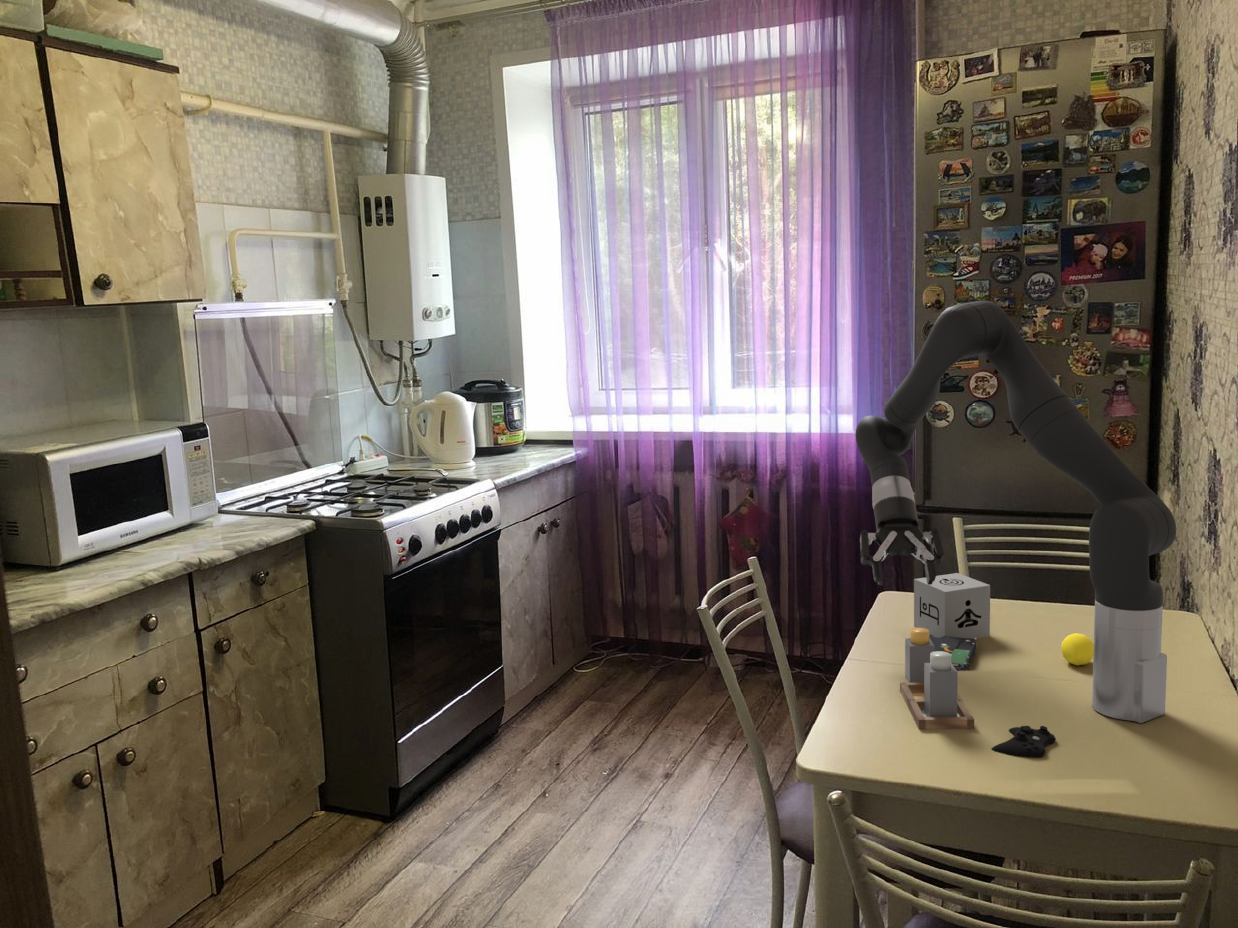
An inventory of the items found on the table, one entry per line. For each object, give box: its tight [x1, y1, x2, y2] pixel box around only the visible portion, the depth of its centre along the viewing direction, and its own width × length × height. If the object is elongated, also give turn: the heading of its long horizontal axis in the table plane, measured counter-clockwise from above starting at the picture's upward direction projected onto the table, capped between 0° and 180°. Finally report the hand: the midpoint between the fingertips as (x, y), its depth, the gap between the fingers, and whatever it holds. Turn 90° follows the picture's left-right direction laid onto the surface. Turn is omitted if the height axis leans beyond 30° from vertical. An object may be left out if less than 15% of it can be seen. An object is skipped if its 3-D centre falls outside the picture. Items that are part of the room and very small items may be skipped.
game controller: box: [991, 725, 1057, 759], centre depth 143 cm, size 10×5×7 cm
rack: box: [899, 682, 975, 730], centre depth 157 cm, size 8×15×3 cm, turn 175°
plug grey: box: [924, 651, 958, 717], centre depth 153 cm, size 4×4×10 cm
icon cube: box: [913, 572, 991, 639], centre depth 196 cm, size 10×10×10 cm
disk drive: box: [929, 634, 978, 672], centre depth 181 cm, size 10×3×15 cm
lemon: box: [1060, 632, 1094, 667], centre depth 176 cm, size 7×5×5 cm
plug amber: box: [904, 627, 935, 683], centre depth 168 cm, size 4×4×10 cm
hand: (905, 582), depth 178 cm, fingers open, 8 cm apart
